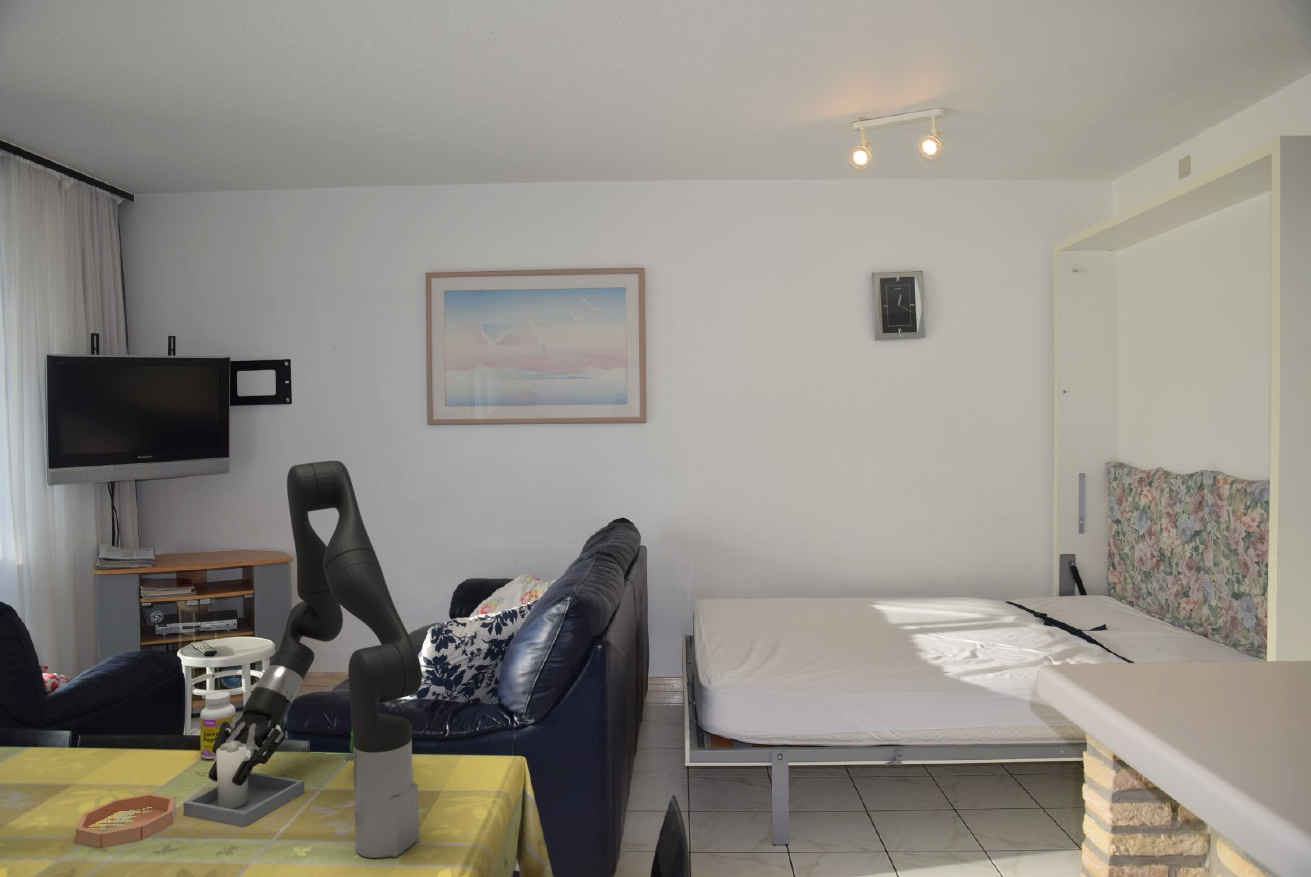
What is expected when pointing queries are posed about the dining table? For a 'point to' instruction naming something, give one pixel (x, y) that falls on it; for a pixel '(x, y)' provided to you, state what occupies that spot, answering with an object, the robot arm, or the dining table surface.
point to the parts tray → (262, 800)
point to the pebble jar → (230, 775)
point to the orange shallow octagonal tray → (141, 825)
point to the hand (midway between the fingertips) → (224, 781)
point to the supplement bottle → (214, 720)
